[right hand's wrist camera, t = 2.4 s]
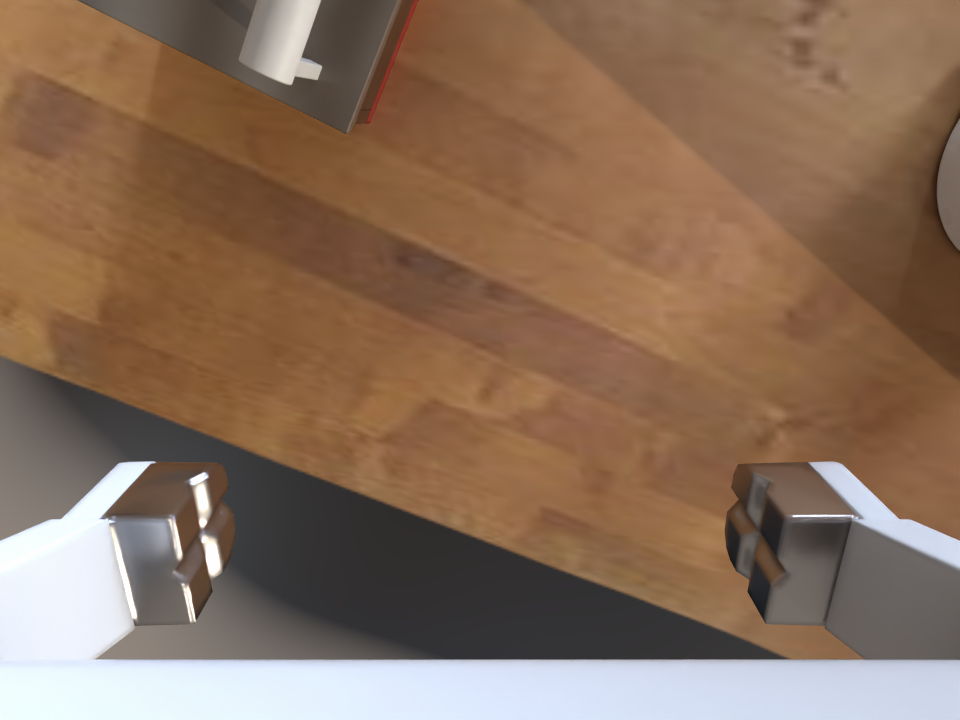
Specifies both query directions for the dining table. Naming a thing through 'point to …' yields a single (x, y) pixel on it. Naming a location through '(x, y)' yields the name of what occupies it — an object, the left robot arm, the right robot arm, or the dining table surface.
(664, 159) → the dining table surface
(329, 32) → the lid
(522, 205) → the dining table surface
